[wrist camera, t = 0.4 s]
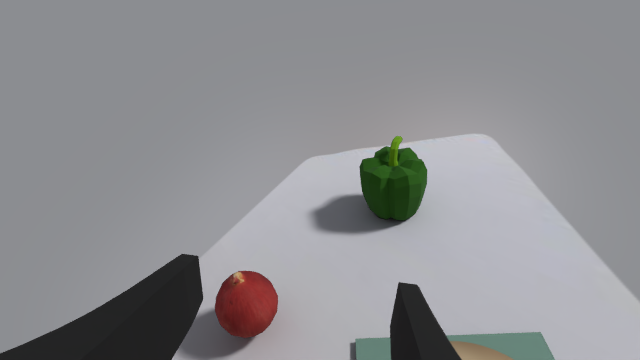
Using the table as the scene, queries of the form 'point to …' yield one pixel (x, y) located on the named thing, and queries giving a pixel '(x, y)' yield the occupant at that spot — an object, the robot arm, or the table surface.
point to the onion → (246, 304)
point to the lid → (477, 352)
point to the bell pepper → (393, 181)
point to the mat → (522, 347)
